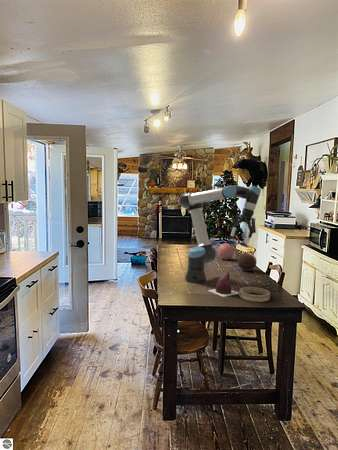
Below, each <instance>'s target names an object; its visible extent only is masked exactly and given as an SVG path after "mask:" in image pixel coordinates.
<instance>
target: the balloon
mask: <svg viewBox="0 0 338 450" xmlns="http://www.w3.org/2000/svg"><path fill="white" fill-rule="evenodd" d="M237 251H239V248H236V247H234V246H232V244H230V243H226V242H224V243H221V244H220V245H219V246H218V247H217V255H218V256H219V258H221V259H222V260H226V261H228V260H230V259H232V258H233V257H234V255H235V253H237Z"/></svg>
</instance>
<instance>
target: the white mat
mask: <svg viewBox="0 0 338 450" xmlns="http://www.w3.org/2000/svg"><path fill="white" fill-rule="evenodd" d="M207 292H210V293H212V294H214V295H217V296H220V297H222V298H225V297H226V298H227V297H230V296H231V297H232V296H235V295H239V292H238V291H235V290H233V289H231V293H230V294H220V293H218V292H216V288H213V289H208V290H207Z"/></svg>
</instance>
